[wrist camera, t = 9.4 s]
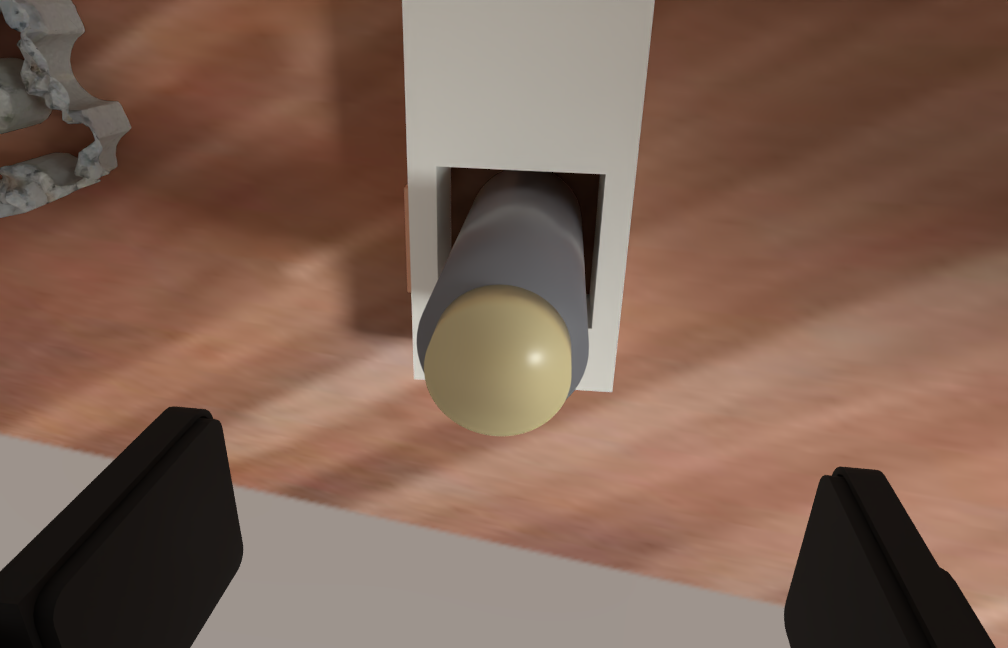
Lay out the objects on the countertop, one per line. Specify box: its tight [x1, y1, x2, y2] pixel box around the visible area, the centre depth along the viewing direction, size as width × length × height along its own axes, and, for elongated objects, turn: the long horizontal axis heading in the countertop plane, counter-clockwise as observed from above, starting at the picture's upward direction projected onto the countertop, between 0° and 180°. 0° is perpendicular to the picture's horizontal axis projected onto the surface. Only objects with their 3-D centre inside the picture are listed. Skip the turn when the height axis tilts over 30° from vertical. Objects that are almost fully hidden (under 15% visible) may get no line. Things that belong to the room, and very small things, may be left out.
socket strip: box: [402, 0, 655, 392], centre depth 22 cm, size 7×20×3 cm, turn 178°
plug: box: [417, 170, 589, 436], centre depth 20 cm, size 4×4×11 cm
